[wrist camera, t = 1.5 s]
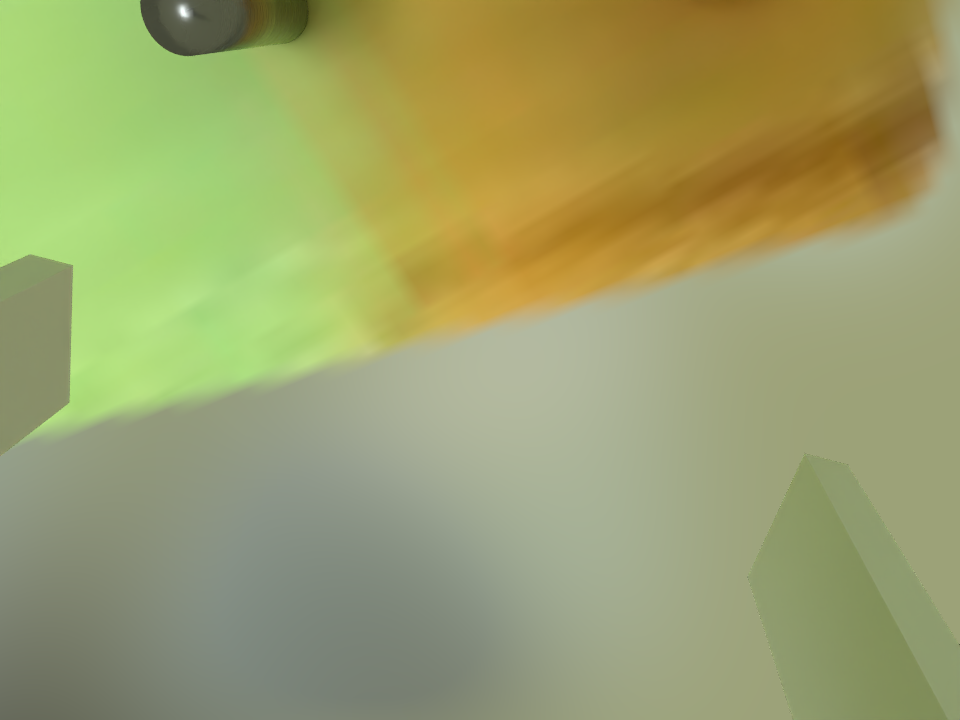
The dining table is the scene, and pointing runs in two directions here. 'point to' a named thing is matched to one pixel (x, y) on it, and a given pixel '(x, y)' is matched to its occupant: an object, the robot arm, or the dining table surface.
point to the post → (222, 23)
